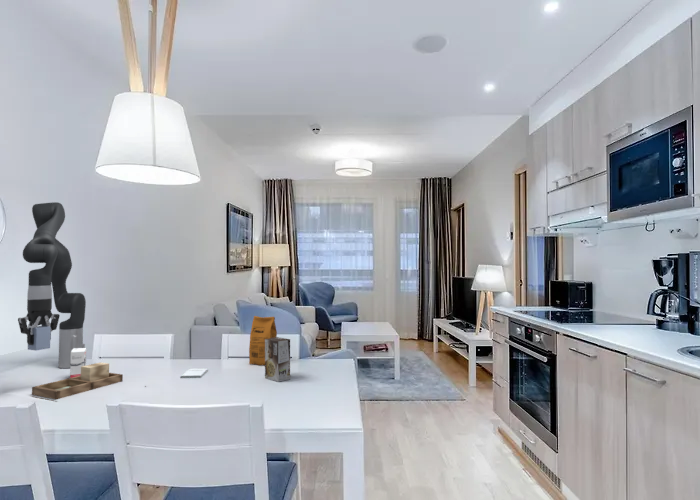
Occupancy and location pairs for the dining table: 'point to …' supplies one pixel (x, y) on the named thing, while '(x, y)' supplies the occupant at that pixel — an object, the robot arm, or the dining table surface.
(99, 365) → the oak block
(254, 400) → the dining table surface
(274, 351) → the coffee box
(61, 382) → the tray
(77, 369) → the ink box
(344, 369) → the dining table surface
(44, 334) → the slate block
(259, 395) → the dining table surface
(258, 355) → the coffee package
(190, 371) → the external hard drive
